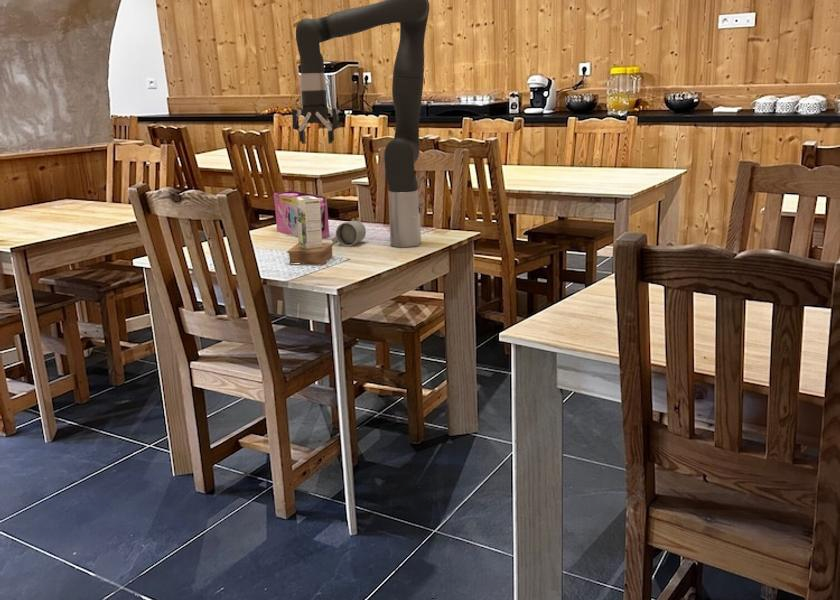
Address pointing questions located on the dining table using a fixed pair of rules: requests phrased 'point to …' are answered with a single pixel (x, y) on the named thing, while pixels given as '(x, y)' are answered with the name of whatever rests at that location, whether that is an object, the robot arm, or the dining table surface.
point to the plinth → (310, 254)
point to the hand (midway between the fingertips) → (317, 143)
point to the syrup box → (309, 222)
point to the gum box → (288, 212)
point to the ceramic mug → (349, 233)
